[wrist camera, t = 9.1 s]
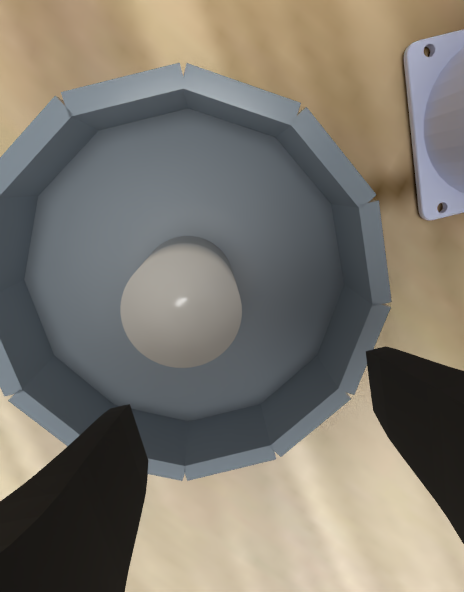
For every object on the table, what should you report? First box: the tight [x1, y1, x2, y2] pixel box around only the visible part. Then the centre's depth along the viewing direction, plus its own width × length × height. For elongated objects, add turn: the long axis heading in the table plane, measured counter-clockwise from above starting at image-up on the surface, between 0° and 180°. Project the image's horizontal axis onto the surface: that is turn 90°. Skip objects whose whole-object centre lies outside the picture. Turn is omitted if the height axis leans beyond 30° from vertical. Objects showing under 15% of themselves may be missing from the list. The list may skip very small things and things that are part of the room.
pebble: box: [120, 236, 242, 368], centre depth 17 cm, size 4×4×5 cm
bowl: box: [0, 63, 392, 481], centre depth 18 cm, size 17×17×4 cm
